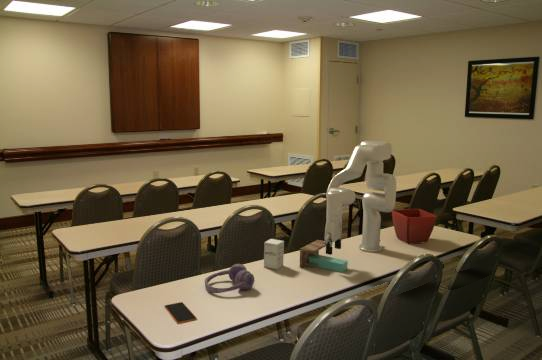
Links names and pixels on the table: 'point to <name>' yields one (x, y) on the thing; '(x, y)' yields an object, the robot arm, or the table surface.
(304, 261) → the overhang shelf
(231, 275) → the headphones
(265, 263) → the supplement box
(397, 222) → the plant pot
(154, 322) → the table surface
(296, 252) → the table surface
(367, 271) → the table surface
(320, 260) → the teal flat plank
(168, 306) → the smartphone
